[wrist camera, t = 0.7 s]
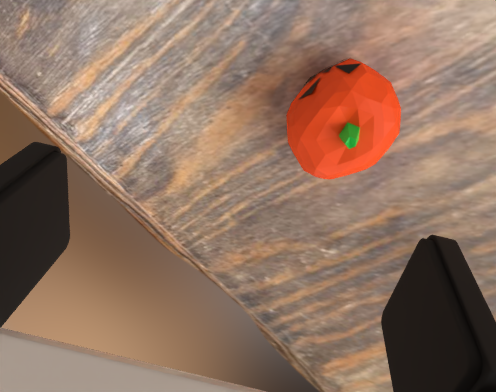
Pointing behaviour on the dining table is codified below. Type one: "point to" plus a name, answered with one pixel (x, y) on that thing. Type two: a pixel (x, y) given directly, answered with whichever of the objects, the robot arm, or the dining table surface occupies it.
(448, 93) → the dining table surface
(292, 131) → the pumpkin
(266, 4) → the dining table surface
